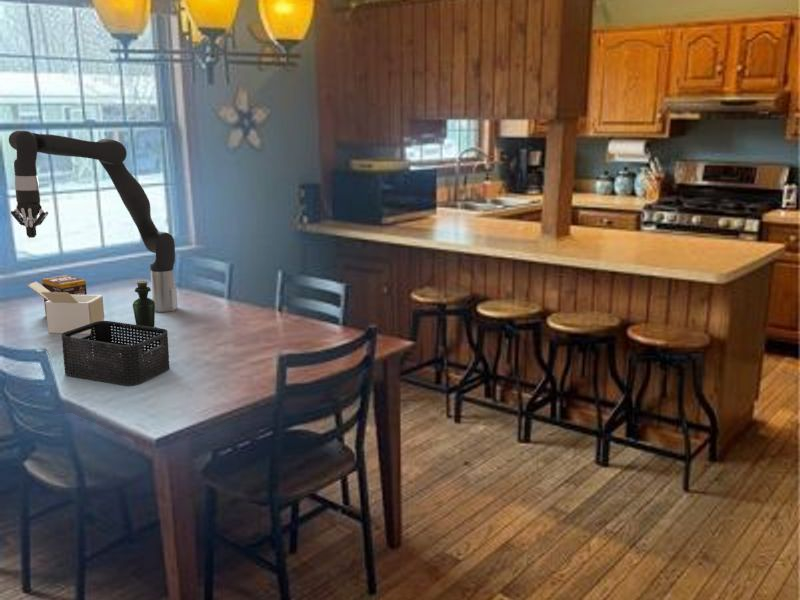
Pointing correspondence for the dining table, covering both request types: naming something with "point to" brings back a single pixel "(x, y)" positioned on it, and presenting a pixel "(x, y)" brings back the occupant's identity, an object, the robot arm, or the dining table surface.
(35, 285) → the short flap
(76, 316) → the carton
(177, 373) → the dining table surface
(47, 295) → the long flap
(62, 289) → the supplement box
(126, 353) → the storage bin
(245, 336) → the dining table surface
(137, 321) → the potion bottle
